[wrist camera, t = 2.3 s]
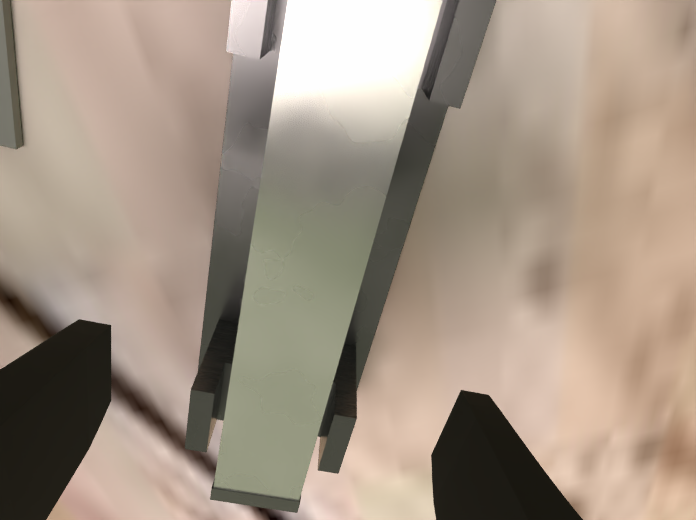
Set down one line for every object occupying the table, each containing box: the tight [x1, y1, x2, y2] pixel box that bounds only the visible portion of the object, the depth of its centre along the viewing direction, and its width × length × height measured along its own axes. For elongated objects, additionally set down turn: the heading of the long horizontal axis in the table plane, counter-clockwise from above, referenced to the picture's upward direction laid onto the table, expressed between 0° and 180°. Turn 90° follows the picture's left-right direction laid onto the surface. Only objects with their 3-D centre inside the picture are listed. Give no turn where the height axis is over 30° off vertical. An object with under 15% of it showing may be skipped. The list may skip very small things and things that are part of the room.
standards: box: [185, 0, 496, 473], centre depth 17 cm, size 20×7×5 cm, turn 167°
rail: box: [210, 0, 443, 513], centre depth 15 cm, size 18×3×3 cm, turn 167°
